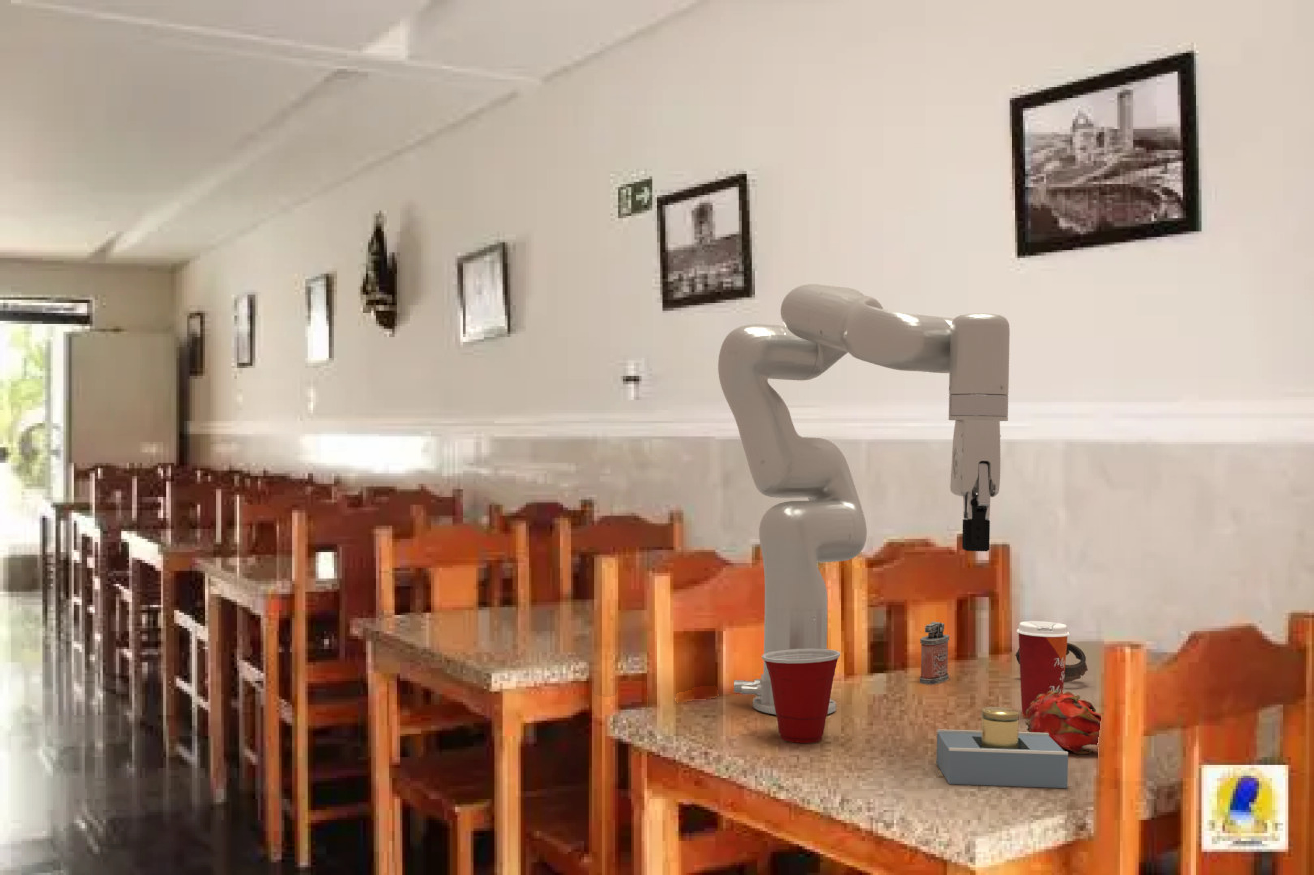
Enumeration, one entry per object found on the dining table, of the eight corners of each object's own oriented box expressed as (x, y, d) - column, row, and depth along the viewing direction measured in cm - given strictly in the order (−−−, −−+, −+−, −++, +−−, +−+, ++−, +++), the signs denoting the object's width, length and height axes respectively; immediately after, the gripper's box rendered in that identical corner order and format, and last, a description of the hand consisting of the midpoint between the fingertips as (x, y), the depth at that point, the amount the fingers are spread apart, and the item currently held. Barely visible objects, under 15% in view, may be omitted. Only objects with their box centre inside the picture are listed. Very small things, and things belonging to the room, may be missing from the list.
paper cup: (1071, 724, 188) (1072, 628, 188) (1016, 721, 190) (1018, 626, 190) (1065, 713, 196) (1066, 621, 196) (1013, 710, 197) (1014, 619, 197)
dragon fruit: (1020, 751, 178) (1106, 779, 170) (1006, 724, 172) (1094, 752, 164) (1042, 698, 181) (1127, 723, 173) (1029, 670, 175) (1116, 695, 168)
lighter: (934, 676, 225) (935, 619, 225) (952, 678, 223) (953, 620, 223) (915, 682, 218) (916, 624, 218) (933, 685, 216) (934, 626, 216)
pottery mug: (1083, 682, 224) (1095, 646, 220) (1074, 715, 216) (1085, 678, 212) (1015, 659, 228) (1025, 623, 224) (1003, 691, 221) (1013, 654, 216)
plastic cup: (775, 726, 183) (777, 642, 183) (848, 734, 179) (850, 649, 179) (748, 741, 174) (750, 653, 174) (825, 751, 169) (826, 660, 169)
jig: (948, 783, 154) (949, 748, 154) (936, 762, 164) (937, 729, 164) (1067, 788, 153) (1068, 752, 153) (1047, 766, 163) (1048, 733, 163)
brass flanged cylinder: (984, 779, 157) (985, 713, 157) (977, 769, 161) (978, 706, 161) (1021, 780, 156) (1022, 715, 156) (1013, 770, 161) (1014, 707, 161)
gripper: (940, 410, 174) (937, 545, 174) (958, 407, 159) (955, 555, 160) (996, 411, 174) (993, 546, 174) (1019, 408, 159) (1017, 556, 159)
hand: (975, 550), depth 167 cm, fingers closed
